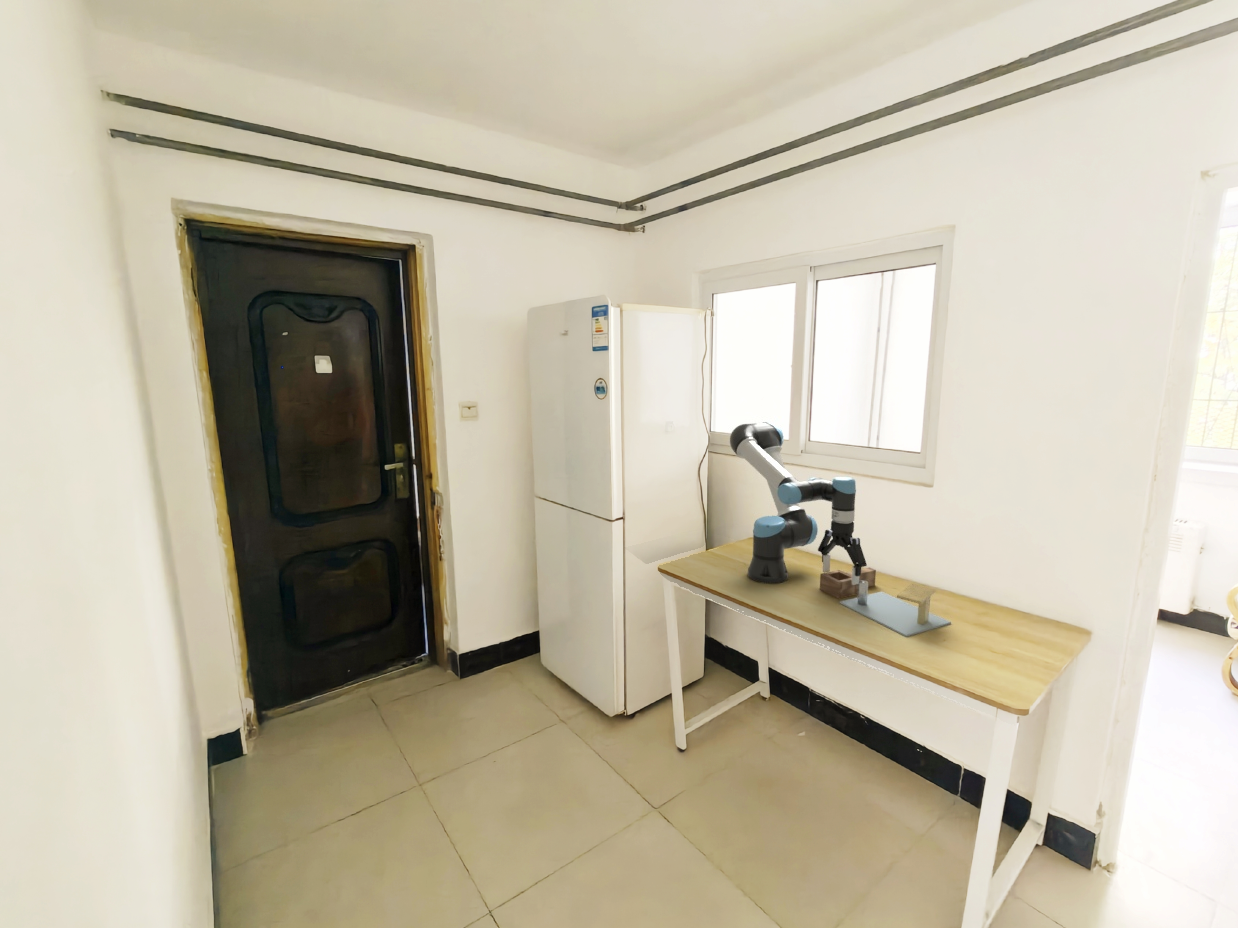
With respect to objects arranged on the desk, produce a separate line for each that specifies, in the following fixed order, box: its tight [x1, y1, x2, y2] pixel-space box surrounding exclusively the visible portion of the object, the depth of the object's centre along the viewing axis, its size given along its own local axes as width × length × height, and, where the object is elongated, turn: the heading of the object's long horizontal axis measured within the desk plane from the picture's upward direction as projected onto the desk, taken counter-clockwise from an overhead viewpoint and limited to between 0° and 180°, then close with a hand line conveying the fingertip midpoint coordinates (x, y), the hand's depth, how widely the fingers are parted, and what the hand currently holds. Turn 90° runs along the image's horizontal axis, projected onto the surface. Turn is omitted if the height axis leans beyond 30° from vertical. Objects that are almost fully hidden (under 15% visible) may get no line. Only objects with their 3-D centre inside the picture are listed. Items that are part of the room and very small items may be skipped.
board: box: [839, 591, 952, 638], centre depth 176 cm, size 26×20×1 cm
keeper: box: [896, 583, 936, 625], centre depth 169 cm, size 7×13×10 cm, turn 133°
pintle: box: [857, 580, 869, 606], centre depth 181 cm, size 3×3×8 cm
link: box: [819, 567, 877, 599], centre depth 195 cm, size 21×9×6 cm, turn 113°
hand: (840, 577), depth 192 cm, fingers open, 13 cm apart
